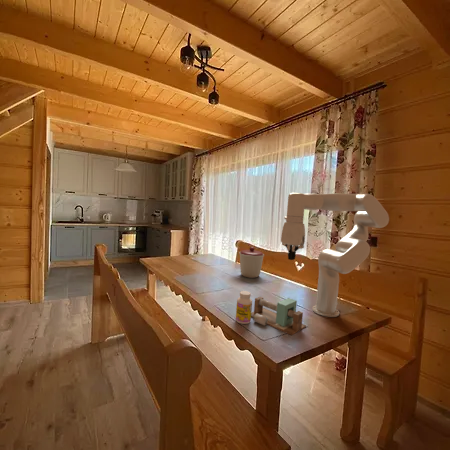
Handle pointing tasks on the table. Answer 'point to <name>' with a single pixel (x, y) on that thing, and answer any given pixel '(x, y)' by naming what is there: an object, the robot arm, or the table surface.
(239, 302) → the supplement bottle
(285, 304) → the collar
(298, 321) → the pipe rig
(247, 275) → the canister
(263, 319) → the sleeve
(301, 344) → the table surface
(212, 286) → the table surface
